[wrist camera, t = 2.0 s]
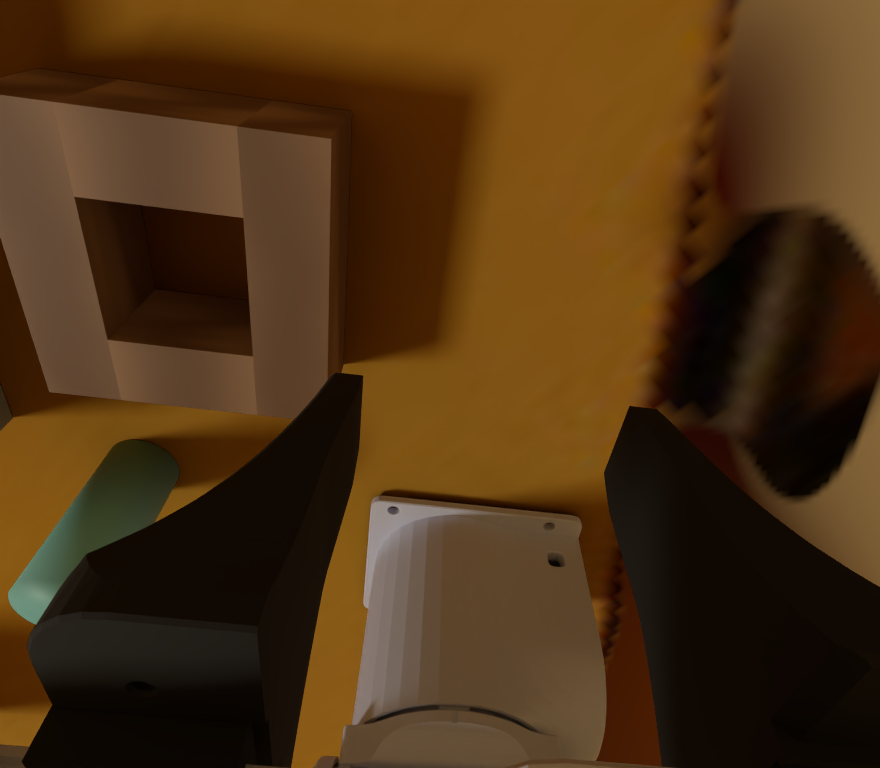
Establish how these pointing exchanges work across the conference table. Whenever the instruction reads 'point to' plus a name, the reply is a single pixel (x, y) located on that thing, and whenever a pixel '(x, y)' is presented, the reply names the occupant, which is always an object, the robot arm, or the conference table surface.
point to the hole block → (126, 249)
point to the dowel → (98, 519)
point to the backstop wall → (4, 410)
